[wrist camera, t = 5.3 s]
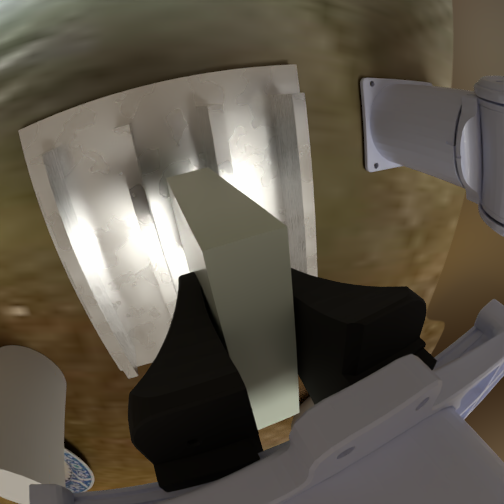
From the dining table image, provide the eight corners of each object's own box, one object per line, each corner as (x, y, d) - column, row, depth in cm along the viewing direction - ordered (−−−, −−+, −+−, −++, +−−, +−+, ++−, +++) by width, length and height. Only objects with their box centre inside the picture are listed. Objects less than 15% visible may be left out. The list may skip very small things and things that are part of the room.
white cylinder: (13, 403, 21) (5, 502, 11) (-23, 346, 18) (-54, 456, 8) (78, 401, 24) (83, 510, 14) (47, 342, 20) (31, 470, 10)
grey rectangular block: (207, 167, 14) (287, 226, 7) (235, 304, 18) (299, 412, 11) (165, 178, 13) (202, 251, 6) (202, 315, 17) (252, 431, 10)
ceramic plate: (-22, 472, 23) (-23, 485, 21) (-96, 374, 14) (-103, 391, 11) (106, 490, 34) (108, 505, 31) (69, 406, 24) (69, 429, 22)
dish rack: (289, 65, 18) (320, 59, 15) (309, 299, 28) (332, 325, 25) (23, 129, 14) (-1, 134, 10) (120, 362, 24) (123, 398, 20)
